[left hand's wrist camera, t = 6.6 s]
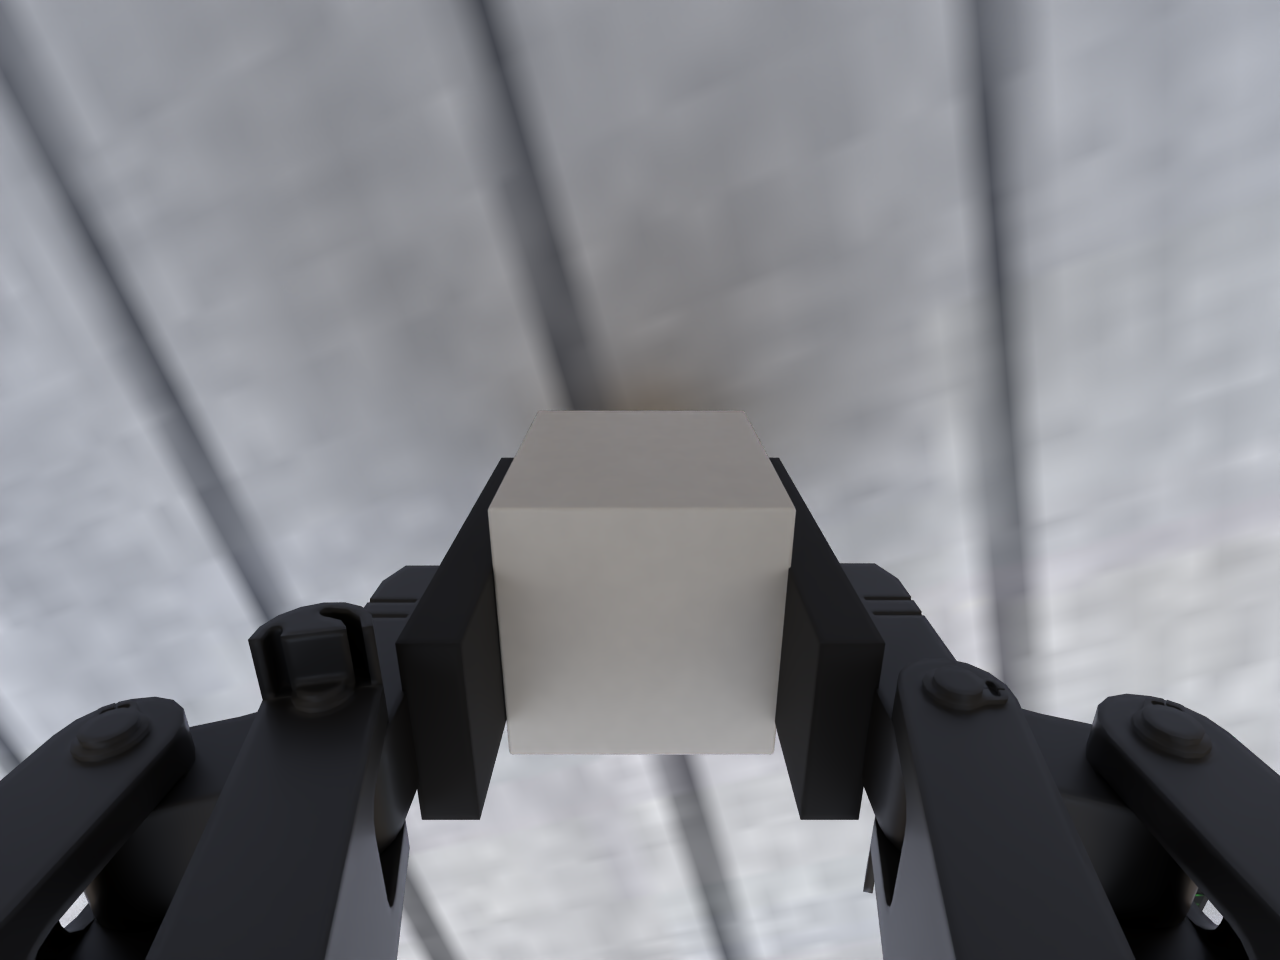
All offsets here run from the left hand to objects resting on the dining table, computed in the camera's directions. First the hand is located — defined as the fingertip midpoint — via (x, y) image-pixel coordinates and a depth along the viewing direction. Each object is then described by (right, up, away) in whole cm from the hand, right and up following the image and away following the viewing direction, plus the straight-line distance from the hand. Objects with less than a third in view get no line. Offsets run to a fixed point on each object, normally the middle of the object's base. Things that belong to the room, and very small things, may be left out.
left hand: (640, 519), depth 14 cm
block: (0, 0, 0) cm, 0 cm away
